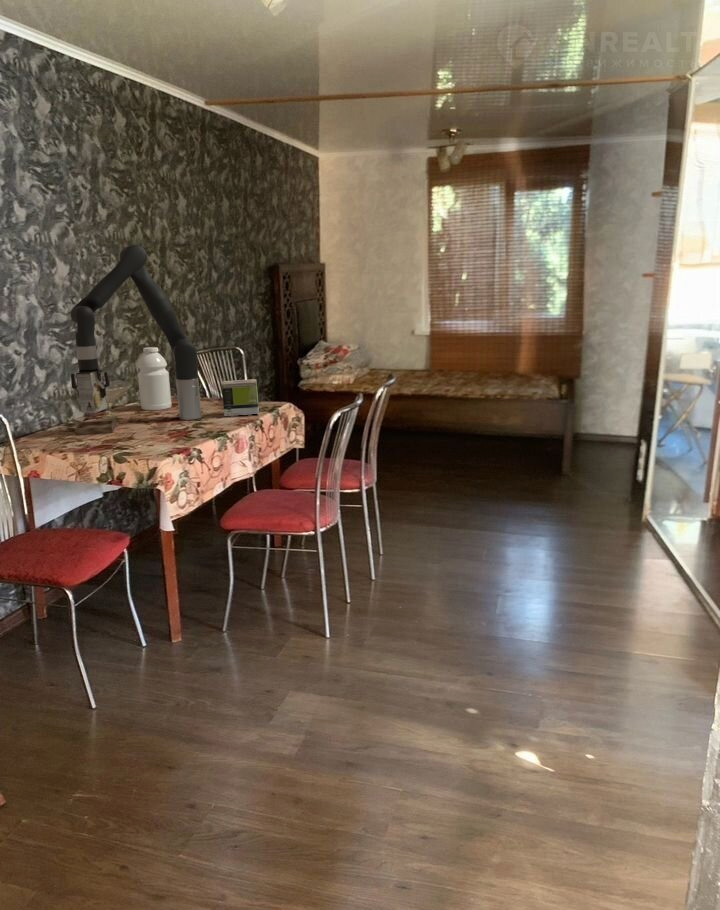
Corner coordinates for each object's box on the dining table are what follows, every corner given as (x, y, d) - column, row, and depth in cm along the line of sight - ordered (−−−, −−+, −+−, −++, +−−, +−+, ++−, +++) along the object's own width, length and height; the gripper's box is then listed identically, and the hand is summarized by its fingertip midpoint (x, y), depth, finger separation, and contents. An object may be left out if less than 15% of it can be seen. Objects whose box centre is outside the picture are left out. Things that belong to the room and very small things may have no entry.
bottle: (144, 405, 331) (138, 346, 324) (174, 404, 332) (168, 345, 325) (138, 411, 318) (131, 350, 310) (169, 409, 319) (163, 348, 312)
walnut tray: (116, 425, 288) (115, 419, 288) (112, 432, 275) (111, 426, 274) (81, 427, 285) (80, 422, 285) (75, 435, 272) (74, 429, 272)
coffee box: (93, 408, 283) (88, 369, 279) (107, 408, 282) (102, 369, 278) (80, 413, 275) (75, 372, 270) (95, 413, 273) (90, 372, 269)
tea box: (259, 411, 311) (257, 378, 307) (258, 415, 301) (256, 382, 298) (225, 412, 309) (222, 380, 306) (223, 417, 300) (221, 383, 296)
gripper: (107, 355, 278) (112, 395, 282) (70, 357, 275) (75, 397, 279) (105, 357, 271) (110, 398, 275) (66, 359, 268) (71, 401, 272)
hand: (92, 398), depth 277 cm, fingers closed on coffee box, 8 cm apart
